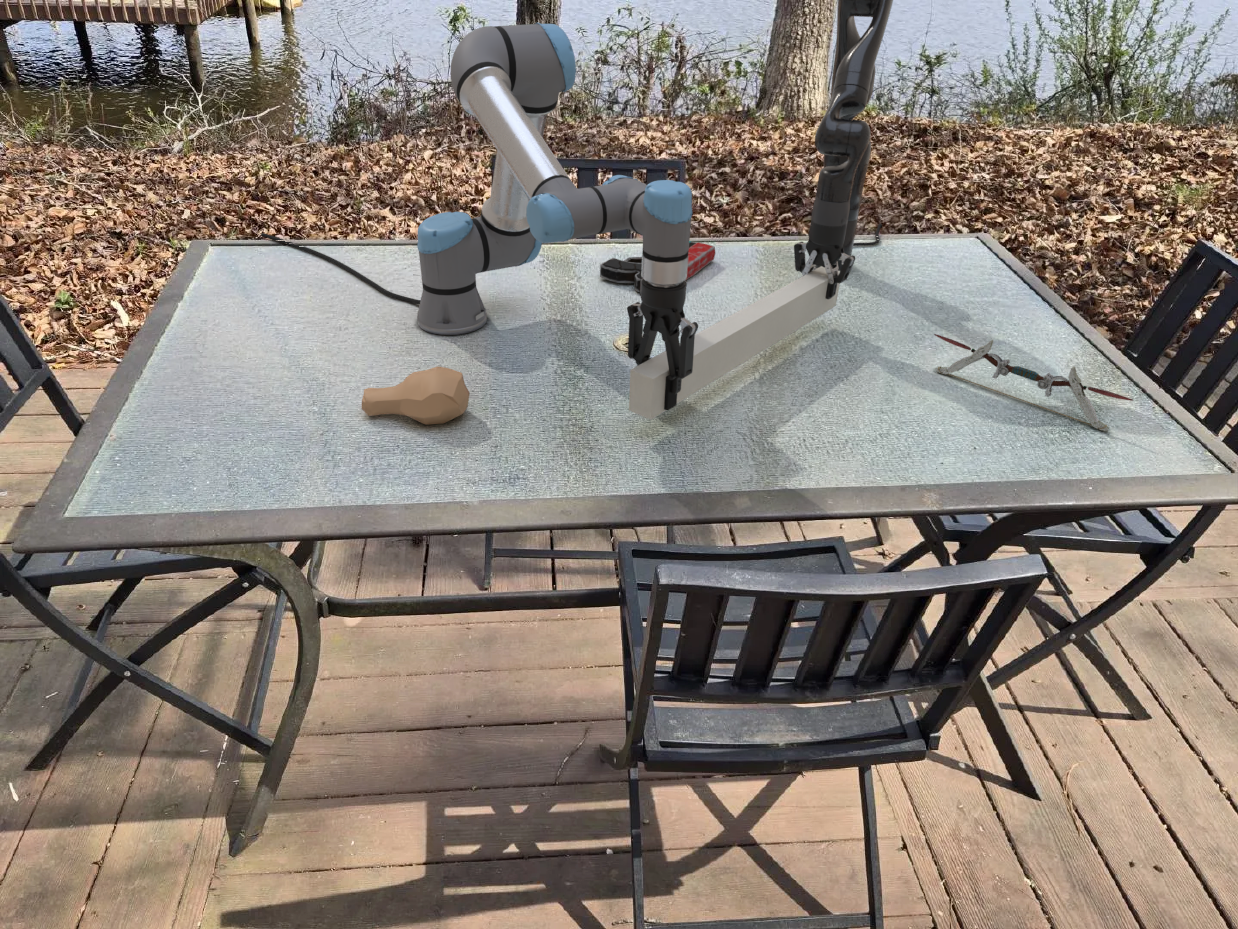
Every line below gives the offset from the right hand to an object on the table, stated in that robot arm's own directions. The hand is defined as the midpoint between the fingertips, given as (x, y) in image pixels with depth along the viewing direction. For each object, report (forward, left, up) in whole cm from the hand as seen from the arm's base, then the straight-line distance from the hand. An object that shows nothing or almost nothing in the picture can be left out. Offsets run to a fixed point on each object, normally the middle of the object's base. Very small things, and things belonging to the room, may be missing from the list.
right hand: (817, 294), depth 193 cm
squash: (+84, -36, -9) cm, 91 cm away
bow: (+1, +47, -9) cm, 47 cm away
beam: (+29, 0, -3) cm, 29 cm away
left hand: (+58, 0, -3) cm, 58 cm away
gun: (-4, -46, -9) cm, 47 cm away
